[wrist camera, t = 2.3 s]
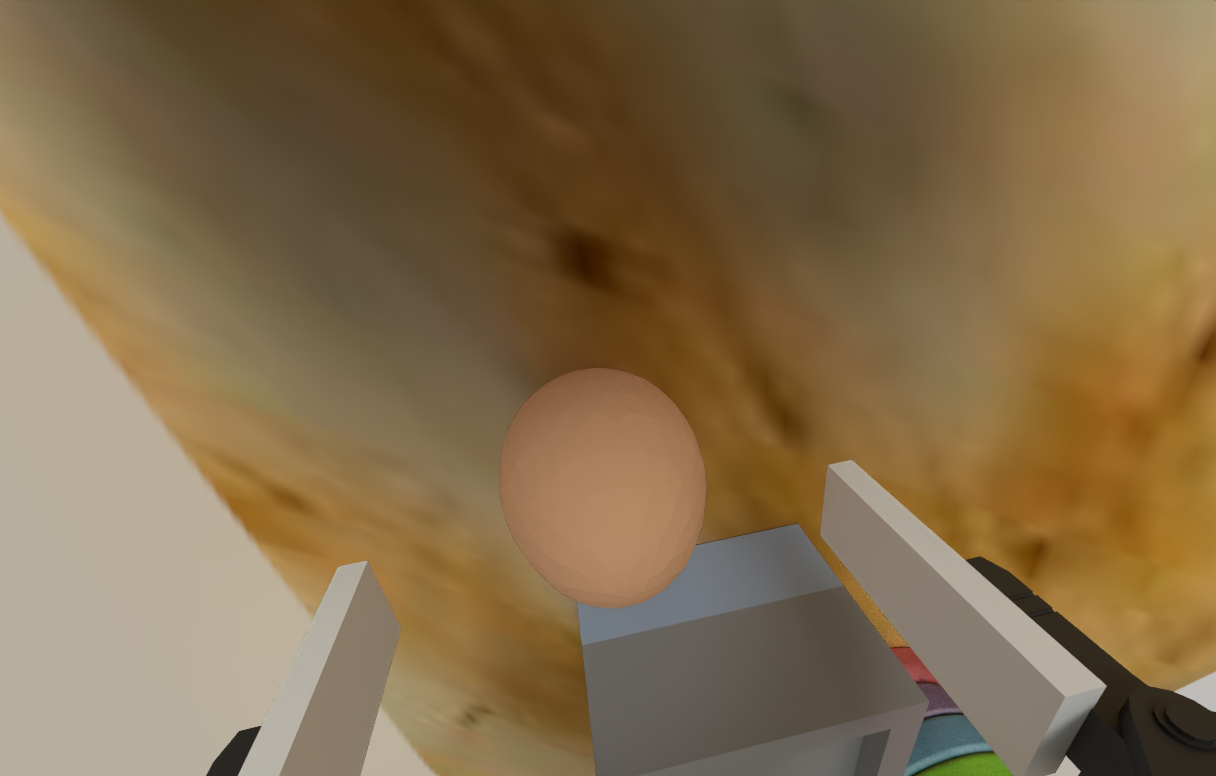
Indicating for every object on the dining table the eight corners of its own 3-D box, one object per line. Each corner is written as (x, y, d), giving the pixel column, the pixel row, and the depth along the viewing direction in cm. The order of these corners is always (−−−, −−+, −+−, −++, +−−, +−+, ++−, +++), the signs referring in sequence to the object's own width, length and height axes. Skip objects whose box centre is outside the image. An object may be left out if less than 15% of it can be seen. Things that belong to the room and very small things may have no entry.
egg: (503, 477, 20) (487, 682, 12) (506, 330, 17) (488, 474, 9) (652, 477, 21) (725, 662, 13) (677, 340, 19) (790, 474, 11)
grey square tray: (573, 571, 23) (597, 785, 15) (797, 523, 24) (929, 701, 16) (603, 705, 29) (632, 914, 21) (785, 661, 30) (879, 844, 22)
